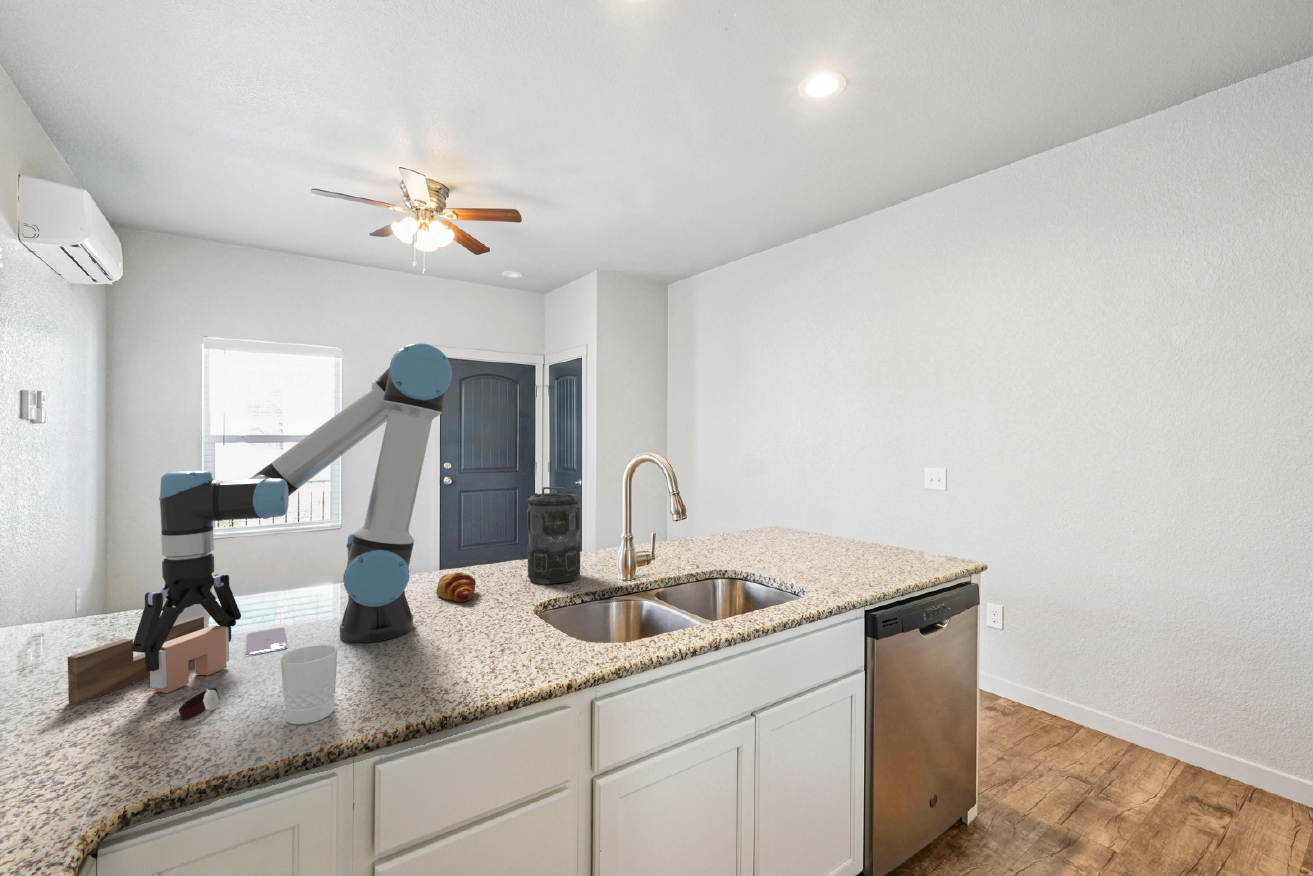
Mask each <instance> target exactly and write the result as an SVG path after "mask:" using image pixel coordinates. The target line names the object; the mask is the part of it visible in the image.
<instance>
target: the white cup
mask: <svg viewBox="0 0 1313 876" xmlns="http://www.w3.org/2000/svg"><path fill="white" fill-rule="evenodd" d="M337 660H338V648H337V647H336V646H334V645H331V644H314V645H307V646H303V647H299V648H295V649H293V650H290V651H288V652H286V653H284V654H283V655H282V656H281V657H280V669H281V671H280V672H281V681H282V682H281V683H282V696H283V703H284V708H285V709H284V710H285V721H286V722H287V723H289V724H291V725H307V724H312V723H316V722H318V721H321V720H323V719H326V718H327V717H329V716H330V715H331V714H332V713H333V712H334V710H335V694H336V688H337V687H336V685H337V684H336V683H337V668H338V667H337Z"/></svg>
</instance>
